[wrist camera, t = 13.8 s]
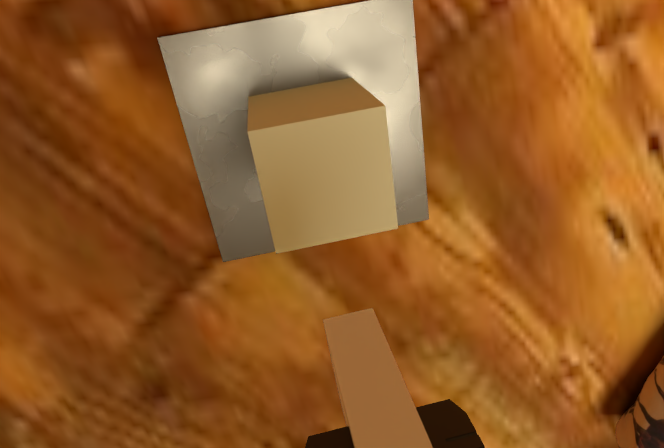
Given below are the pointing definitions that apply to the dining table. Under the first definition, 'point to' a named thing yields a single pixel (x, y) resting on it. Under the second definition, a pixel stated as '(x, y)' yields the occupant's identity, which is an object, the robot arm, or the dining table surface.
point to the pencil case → (645, 415)
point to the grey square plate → (287, 73)
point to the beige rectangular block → (322, 163)
